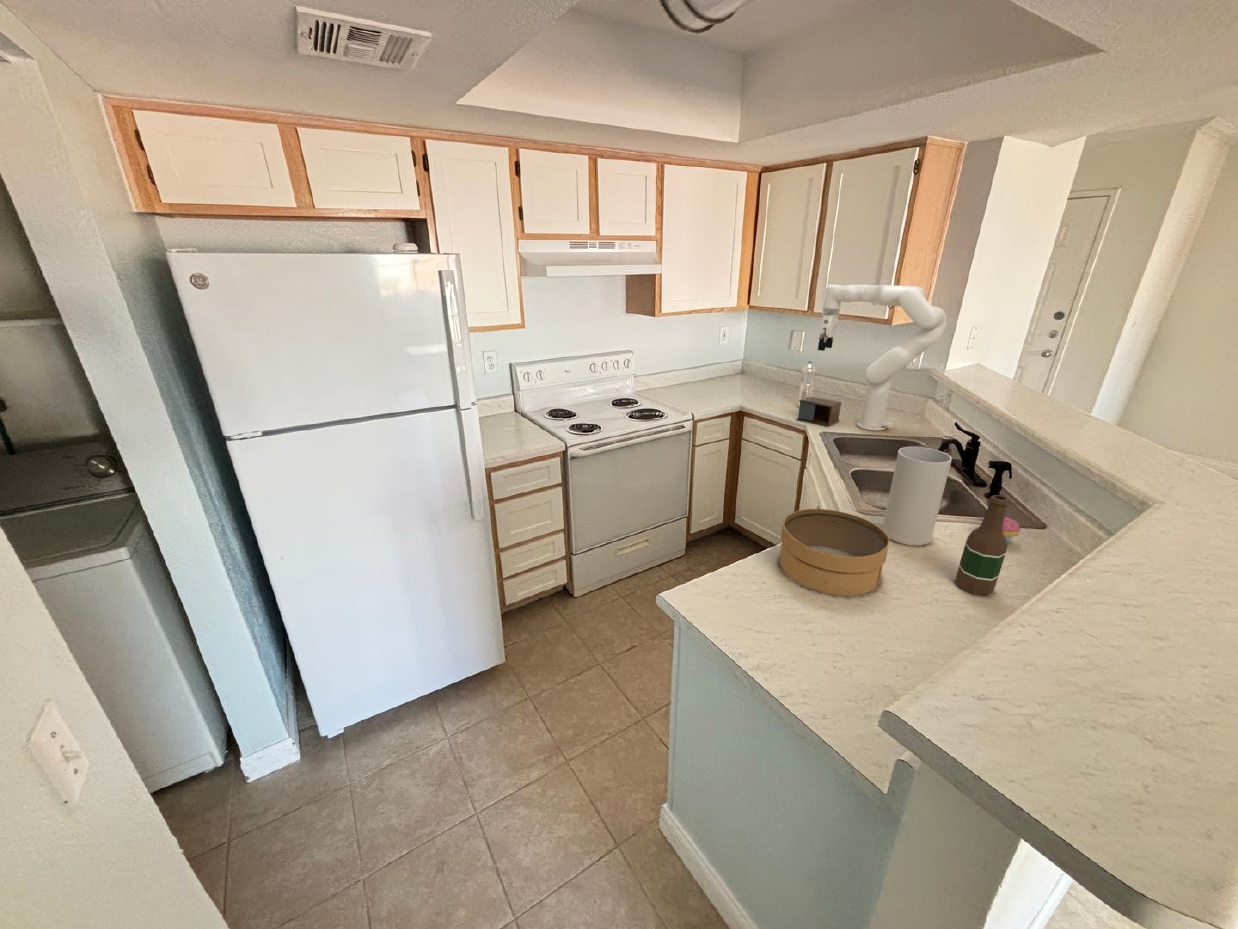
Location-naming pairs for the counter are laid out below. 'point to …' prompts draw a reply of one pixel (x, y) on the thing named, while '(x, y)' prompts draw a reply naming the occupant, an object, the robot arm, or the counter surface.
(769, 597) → the counter surface
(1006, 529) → the cupcake
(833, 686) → the counter surface
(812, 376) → the water bottle
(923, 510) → the cylinder vase
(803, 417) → the glass door
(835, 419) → the cabinet
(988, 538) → the beer bottle
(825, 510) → the steamer basket
